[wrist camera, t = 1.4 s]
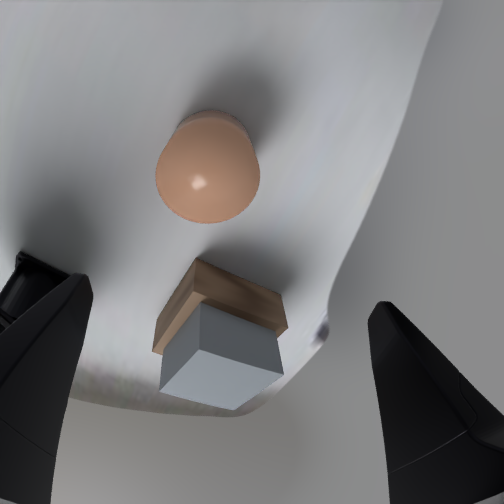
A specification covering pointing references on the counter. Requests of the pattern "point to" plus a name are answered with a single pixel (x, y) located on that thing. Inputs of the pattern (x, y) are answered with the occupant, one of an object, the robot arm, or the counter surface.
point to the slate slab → (219, 359)
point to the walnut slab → (218, 302)
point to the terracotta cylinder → (208, 168)
